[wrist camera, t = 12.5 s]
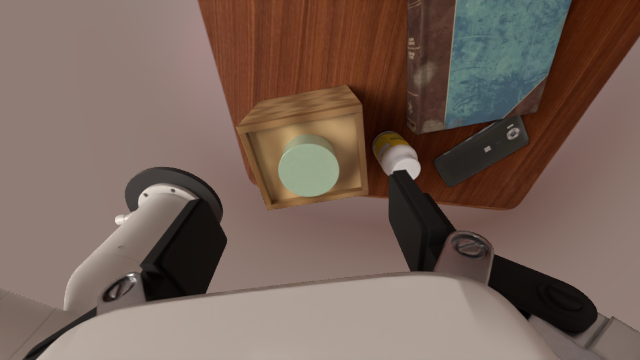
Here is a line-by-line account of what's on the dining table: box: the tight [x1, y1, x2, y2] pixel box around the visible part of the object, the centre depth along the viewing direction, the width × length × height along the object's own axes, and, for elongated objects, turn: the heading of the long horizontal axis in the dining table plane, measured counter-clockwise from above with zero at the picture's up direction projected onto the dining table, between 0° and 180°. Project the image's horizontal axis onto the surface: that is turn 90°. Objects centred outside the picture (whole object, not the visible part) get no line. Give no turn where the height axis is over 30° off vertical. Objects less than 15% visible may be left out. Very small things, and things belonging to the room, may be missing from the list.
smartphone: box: [433, 115, 529, 187], centre depth 41 cm, size 8×15×1 cm, turn 130°
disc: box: [278, 134, 339, 197], centre depth 27 cm, size 7×7×3 cm
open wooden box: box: [236, 85, 369, 210], centre depth 33 cm, size 14×12×13 cm
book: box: [407, 0, 572, 135], centre depth 30 cm, size 23×18×5 cm
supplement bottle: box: [372, 131, 421, 180], centre depth 36 cm, size 5×5×10 cm
